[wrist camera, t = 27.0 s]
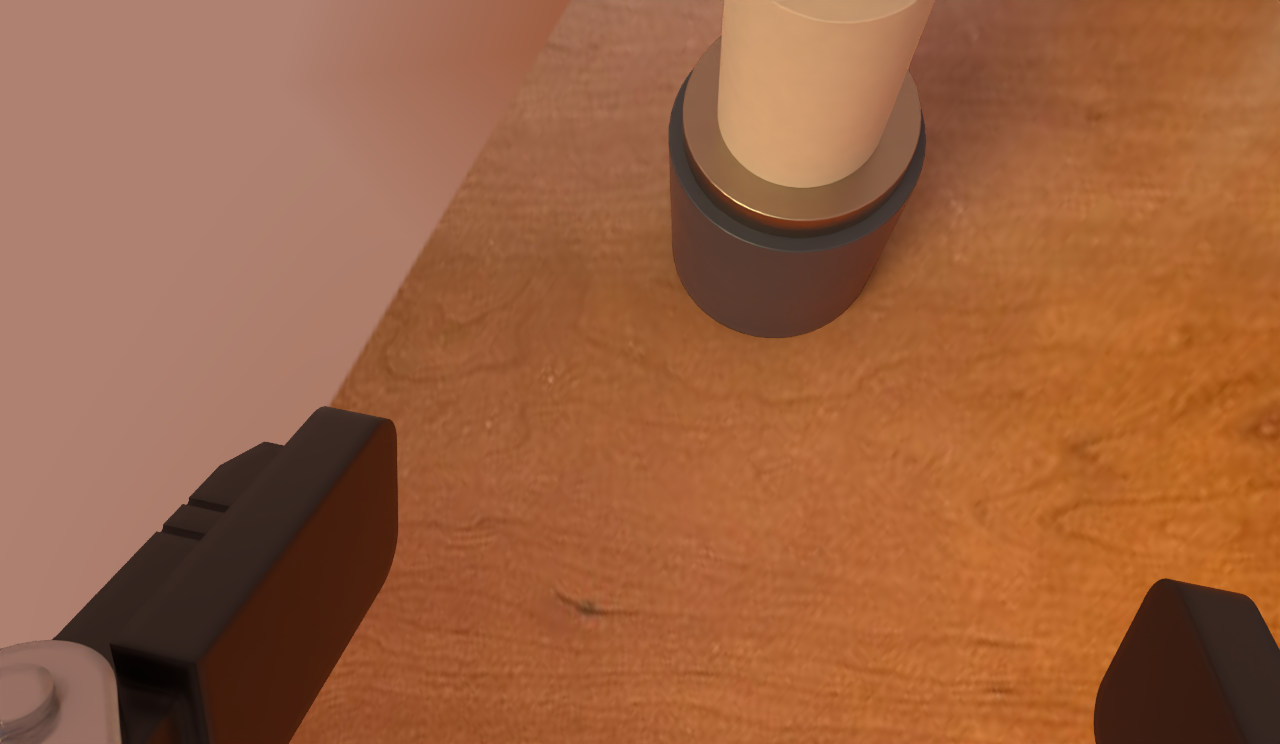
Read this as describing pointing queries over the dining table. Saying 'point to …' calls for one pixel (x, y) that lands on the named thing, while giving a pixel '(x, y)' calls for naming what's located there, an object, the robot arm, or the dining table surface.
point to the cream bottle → (812, 82)
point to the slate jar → (780, 218)
